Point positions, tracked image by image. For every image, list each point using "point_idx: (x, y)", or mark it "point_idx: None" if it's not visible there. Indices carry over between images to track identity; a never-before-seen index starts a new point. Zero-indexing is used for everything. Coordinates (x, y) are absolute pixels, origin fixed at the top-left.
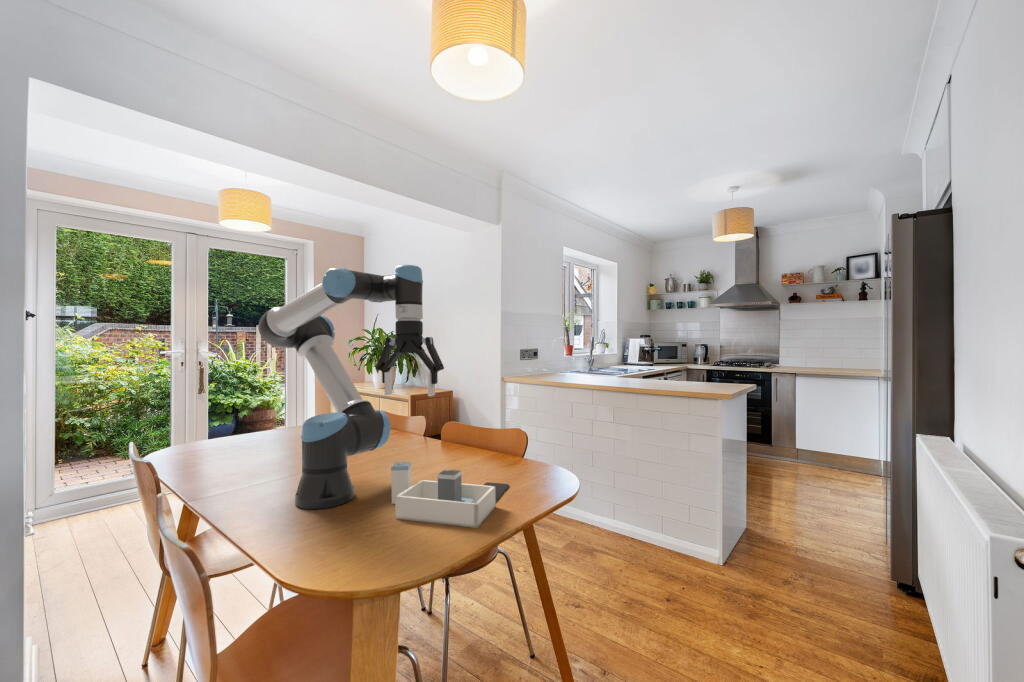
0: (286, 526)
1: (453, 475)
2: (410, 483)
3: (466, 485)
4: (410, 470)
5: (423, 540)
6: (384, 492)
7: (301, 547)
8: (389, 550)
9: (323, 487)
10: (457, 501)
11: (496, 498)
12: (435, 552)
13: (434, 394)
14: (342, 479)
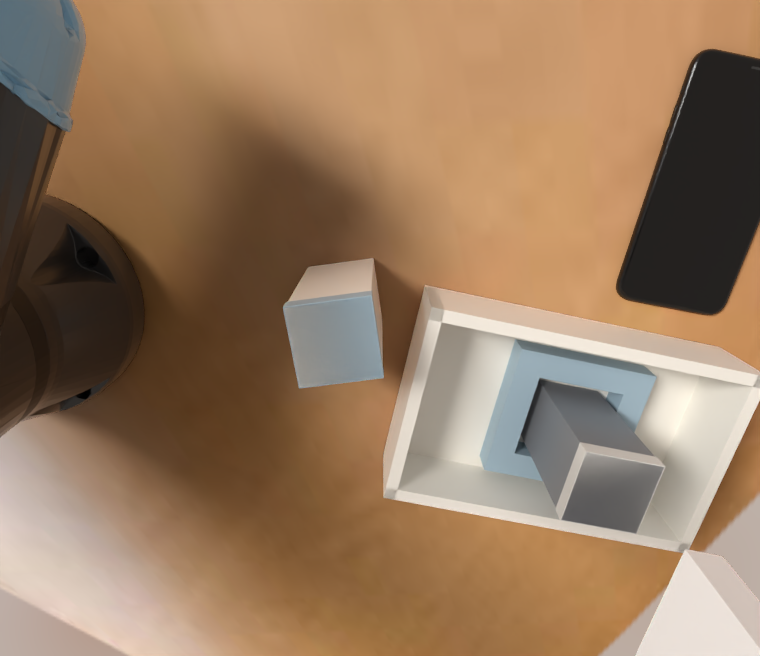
0: (75, 517)
1: (632, 533)
2: (374, 284)
3: (644, 363)
4: (373, 299)
5: (505, 575)
6: (235, 202)
7: (207, 618)
8: (432, 622)
9: (45, 413)
10: (618, 532)
11: (733, 276)
12: (547, 625)
13: (726, 573)
14: (79, 360)
